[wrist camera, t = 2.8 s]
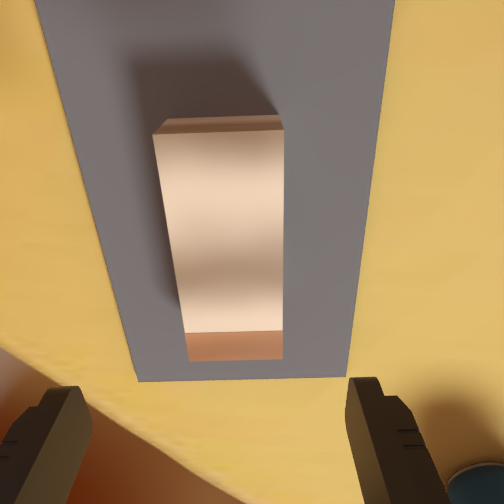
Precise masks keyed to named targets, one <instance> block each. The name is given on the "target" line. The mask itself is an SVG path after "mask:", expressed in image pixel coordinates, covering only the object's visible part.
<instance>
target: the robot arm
mask: <svg viewBox="0 0 504 504" xmlns="http://www.w3.org/2000/svg"><path fill="white" fill-rule="evenodd" d="M345 423H346V430H347V434H348V438H349V442H350V446H351V450H352V454H353V459H354V463H355V467H356V471H357V475H358V479H359V483H360V487H361V491H362V495H363V499H364V503H365V504H451V502H450V500H449V497H448V495H447V493H446V490H445V488H444V486H443V484H442V481H441V479H440V477H439V474H438V472H437V470H436V467H435V465H434V463H433V460H432V458H431V456H430V454H429V451H428V449H427V448H426V446H425V442H424V440H423V437H422V435H421V433H419V428H418V426H417V424H416V421H415V419H414V417H413V414H412V412H411V410H410V409H409V408H408V407H407V406H406V405H405V404H404V403H403V402H402V401H401V399H400V398H399V397H398V396H384V394H383V391H382V388H381V386H380V383H379V381H378V379H377V378H376V377H354V378H350V379H349V384H348V392H347V400H346V407H345ZM91 434H92V418H91V415H90V413H89V410H88V407H87V405H86V402H85V399H84V397H83V394H82V391H81V389H80V388H79V387H78V386H59V387H50V388H49V389H48V390H47V391H46V393H45V394H44V396H43V398H42V399H41V401H40V403H39V405H38V406H37V407H29V408H28V409H27V410H26V411H25V412H24V413H23V414H22V415H21V416H20V417H19V418H18V419H17V420H16V421H15V422H14V423H13V424H12V426H11V427H10V429H9V431H8V432H7V434H6V435H5V437H4V439H3V441H2V444H1V445H0V504H65V503H66V501H67V498H68V495H69V492H70V490H71V488H72V485H73V483H74V480H75V477H76V475H77V472H78V470H79V467H80V465H81V462H82V459H83V457H84V454H85V452H86V449H87V447H88V444H89V442H90V439H91Z"/></svg>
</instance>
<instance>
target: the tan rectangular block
mask: <svg viewBox="0 0 504 504" xmlns="http://www.w3.org/2000/svg"><path fill="white" fill-rule="evenodd" d="M152 136H153V142H154V148H155V154H156V160H157V166H158V172H159V178H160V184H161V190H162V196H163V202H164V208H165V215H166V221H167V227H168V233H169V239H170V245H171V251H172V257H173V263H174V269H175V275H176V281H177V288H178V294H179V300H180V306H181V312H182V318H183V324H184V330H185V339H186V345H187V351H188V357H189V362H192V361H231V360H269V359H283V216H284V128H283V125H282V122H281V119H280V116H279V115H257V116H229V117H202V118H175V119H167V120H166V121H165V122H164V123H163V124H162V125H161V126H160V127H159V128H158V129H157V130H156V131H155V132H154V133H153V134H152Z"/></svg>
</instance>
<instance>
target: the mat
mask: <svg viewBox="0 0 504 504" xmlns="http://www.w3.org/2000/svg"><path fill="white" fill-rule="evenodd" d="M35 3H36V7H37V10H38V14H39V18H40V21H41V25H42V29H43V32H44V36H45V40H46V44H47V47H48V51H49V55H50V58H51V62H52V66H53V69H54V73H55V77H56V80H57V84H58V88H59V91H60V95H61V99H62V102H63V106H64V110H65V113H66V117H67V121H68V125H69V128H70V132H71V136H72V139H73V143H74V147H75V150H76V154H77V158H78V161H79V165H80V169H81V172H82V176H83V180H84V183H85V187H86V191H87V194H88V198H89V202H90V206H91V209H92V213H93V217H94V220H95V224H96V228H97V231H98V235H99V239H100V242H101V246H102V250H103V253H104V257H105V261H106V264H107V268H108V272H109V275H110V279H111V283H112V287H113V290H114V294H115V298H116V301H117V305H118V309H119V312H120V316H121V320H122V323H123V327H124V331H125V334H126V338H127V342H128V345H129V349H130V353H131V357H132V360H133V364H134V368H135V371H136V375H137V379H138V382H164V381H204V380H244V379H284V378H324V377H346V372H347V364H348V356H349V349H350V341H351V334H352V326H353V318H354V311H355V303H356V295H357V288H358V280H359V272H360V265H361V257H362V249H363V242H364V234H365V226H366V219H367V211H368V204H369V196H370V188H371V181H372V173H373V165H374V158H375V150H376V142H377V135H378V127H379V119H380V112H381V104H382V97H383V89H384V81H385V74H386V66H387V58H388V51H389V43H390V35H391V28H392V20H393V12H394V5H395V0H35ZM257 115H279V116H280V119H281V122H282V125H283V128H284V216H283V359H269V360H231V361H192V362H189V357H188V351H187V345H186V339H185V330H184V324H183V318H182V312H181V306H180V300H179V294H178V288H177V281H176V275H175V269H174V263H173V257H172V251H171V245H170V239H169V233H168V227H167V221H166V215H165V208H164V202H163V196H162V190H161V184H160V178H159V172H158V166H157V160H156V154H155V148H154V142H153V136H152V134H153V133H154V132H155V131H156V130H157V129H158V128H159V127H160V126H161V125H162V124H163V123H164V122H165V121H166V120H167V119H175V118H202V117H229V116H257Z"/></svg>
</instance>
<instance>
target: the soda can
mask: <svg viewBox="0 0 504 504" xmlns="http://www.w3.org/2000/svg"><path fill="white" fill-rule="evenodd" d="M447 495H448V497H449V500H450V502H451V504H504V464H502V463H497V462H485V463H478V464H474V465H470V466H468V467H465V468H463V469H461V470H459V471H458V472H456V473H455V474H454V475H453V476H452V477H451V478H450V479H449V481H448V485H447Z"/></svg>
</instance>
